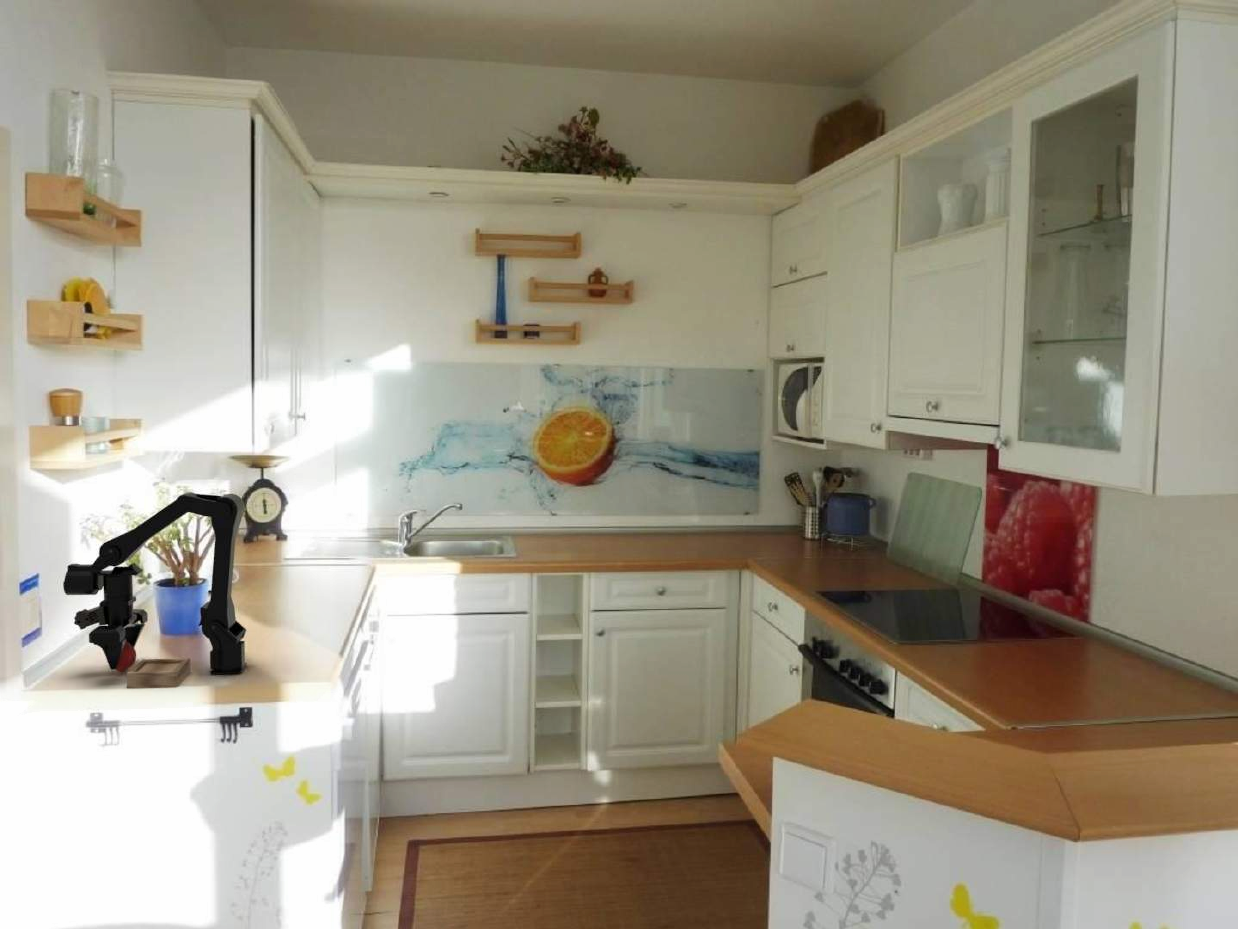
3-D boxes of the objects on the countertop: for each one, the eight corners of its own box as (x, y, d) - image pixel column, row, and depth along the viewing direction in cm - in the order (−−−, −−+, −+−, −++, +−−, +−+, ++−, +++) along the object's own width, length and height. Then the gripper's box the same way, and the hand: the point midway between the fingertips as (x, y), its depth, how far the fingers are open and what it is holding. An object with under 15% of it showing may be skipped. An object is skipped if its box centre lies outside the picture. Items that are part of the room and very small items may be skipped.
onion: (141, 668, 221) (140, 634, 220) (129, 676, 215) (128, 641, 214) (115, 668, 221) (114, 633, 220) (102, 676, 215) (101, 640, 214)
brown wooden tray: (190, 672, 219) (190, 658, 219) (176, 687, 209) (176, 672, 209) (143, 673, 217) (142, 659, 217) (126, 688, 208) (126, 673, 207)
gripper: (95, 585, 224) (98, 652, 226) (61, 605, 206) (64, 677, 207) (147, 585, 226) (149, 651, 227) (117, 604, 207) (119, 676, 209)
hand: (120, 663), depth 218 cm, fingers open, 8 cm apart
